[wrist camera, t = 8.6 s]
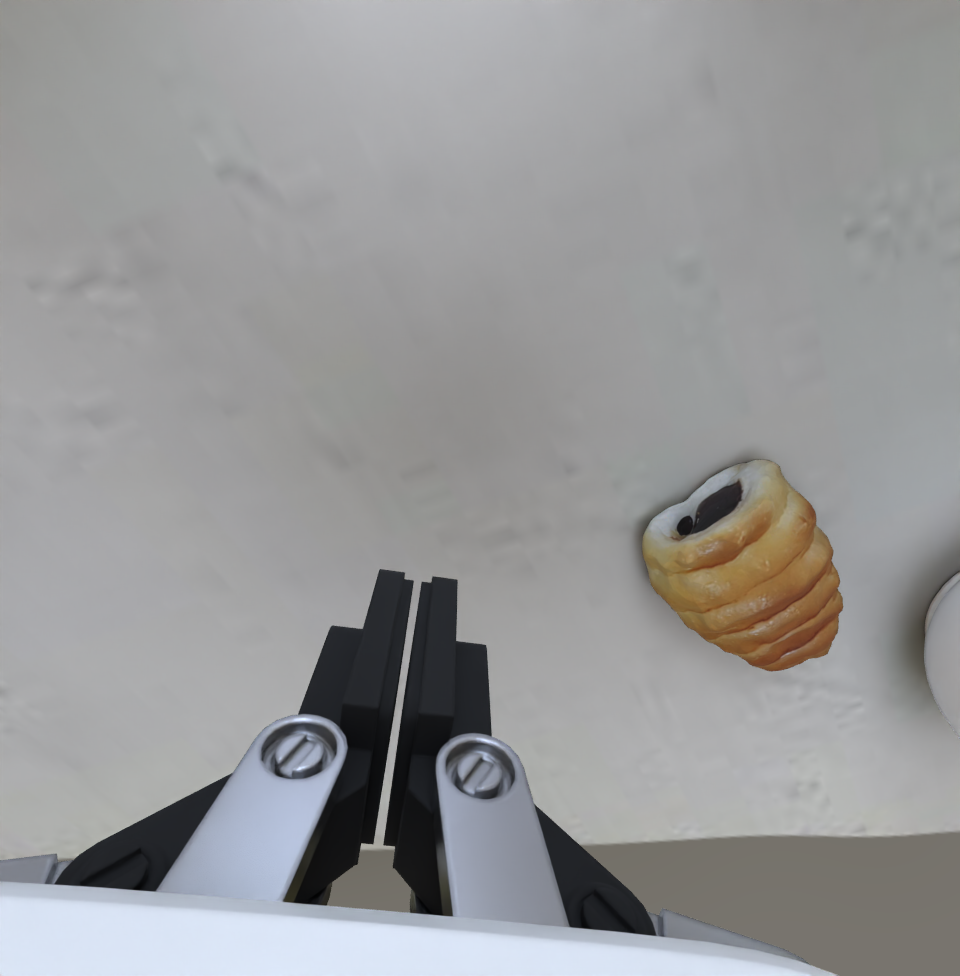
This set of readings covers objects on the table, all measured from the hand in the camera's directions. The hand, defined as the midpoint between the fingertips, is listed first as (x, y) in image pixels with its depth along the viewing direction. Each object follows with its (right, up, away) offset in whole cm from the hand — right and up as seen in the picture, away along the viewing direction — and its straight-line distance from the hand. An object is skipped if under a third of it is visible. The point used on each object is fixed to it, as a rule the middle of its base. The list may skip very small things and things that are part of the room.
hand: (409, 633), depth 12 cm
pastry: (+13, 0, +13) cm, 18 cm away
